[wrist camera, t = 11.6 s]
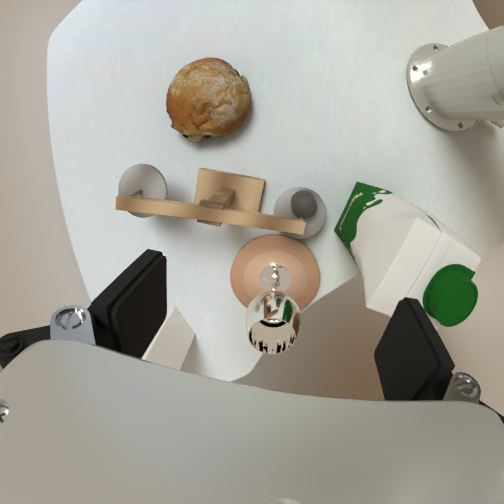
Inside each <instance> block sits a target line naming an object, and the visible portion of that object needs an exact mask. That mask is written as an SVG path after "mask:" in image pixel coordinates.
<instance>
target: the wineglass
mask: <svg viewBox="0 0 504 504" xmlns="http://www.w3.org/2000/svg"><path fill="white" fill-rule="evenodd" d="M291 283H292V275H291V273H290V271H289V270H288V269H287V268H286V267H284V266H282V265H277V264H273V265H269V266H267V267H265V268H264V269H263V270H262V271H261V272H260V274H259V284H260V286H261V288H262V289H263V290H264V291H262V292H260V293H259V294H257V295H256V296H255V297H254V298H253V299H252V300H251V302H250V304H249V306H248V308H247V312H246V330H247V335H248V339H249V342H250V343H251V345H252V346H253V347H254V348H255V349H257V350H258V351H260V352H263V353H266V354H278V353H282V352H284V351H286V350H288V349H289V348H290V347H291V346H292V345H293V344H294V342H295V340H296V337H297V334H298V330H299V325H300V311H299V307H298V305H297V303H296V301H295V299H294V298H293V297H292V296H291V295H290V294H288V293H287V292H285V291H286V290H288V289H289V287H290V286H291Z"/></svg>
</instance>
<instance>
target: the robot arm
mask: <svg viewBox="0 0 504 504" xmlns="http://www.w3.org/2000/svg"><path fill="white" fill-rule="evenodd" d="M413 70H414V71H413ZM407 80H408V86H409V89H410V92H411V95H412V97H413V99H414V101H415V104H416V105H417V107H418V108H419V110H420V111H421V112H422V113H423V115H424V116H425V117H426V118H427V119H428V120H429V121H431V122H432V123H433V124H434V125H436V126H438V127H439V128H442V129H444V130H447V131H464V130H467V129H468V128H470V127H472V126H473V125H474V124H475V123H476V121H477V120H490V121H491V122H492V123H493V124H495V125H496V126H498V127H499V128H503V127H504V25H502V26H499V27H496V28H494V29H492V30H489V31H486V32H483V33H481V34H478V35H476V36H473V37H471V38H468V39H466V40H464V41H461V42H459V43H456V44H454V45H452V46H450V47H448V46H446V45H442V44H438V43H430V44H426V45H424V46H422V47H420V48H418V49H417V50H416V51H415V52H414V53H413V54H412V55H411V57H410V60H409V62H408V67H407ZM426 109H427V111H426ZM166 262H167V261H166V257H165V256H163V254H162V252H160V251H155V250H150V249H147V250H146V251H145V252H144V253H143V254H142V255H141V256H139V257H138V258H137V259H136V260H135V261H134V262H133V263H132V264H131V265H130V266H129V267H128V268H127V269H125V270H124V271H123V272H122V273H121V274H120V275H119V276H118V277H117V278H116V279H115V280H114V281H113V282H112V283H111V284H110V285H109V286H108V287H107V288H106V289H105V290H104V291H103V292H102V293H101V294H100V295H99V296H98V297H97V298H96V299H95V300H94V301H93V302H92V303H91V305H90V306H89V308H88V309H86V308H84V307H81V306H77V305H69V306H65V307H62V308H60V309H58V310H57V311H56V312H55V313H54V314H53V315H52V317H51V322H50V323H51V324H50V325H49V326H44V327H39V328H34V329H29V330H24V331H18V332H13V333H9V334H6V335H4V336H3V337H1V338H0V504H504V417H503V416H502V415H500V414H499V413H498V412H496V411H495V410H493V409H492V408H490V407H489V406H487V405H486V404H484V403H483V402H481V401H480V400H479V399H480V394H481V390H480V386H479V384H478V382H477V381H476V380H475V379H474V378H473V377H471V376H470V375H469V374H466V373H463V372H457V373H455V374H454V375H453V374H452V372H451V371H452V370H453V369H454V367H455V365H454V363H453V361H452V359H451V357H450V355H449V353H448V351H447V349H446V347H445V346H444V344H443V342H442V340H441V338H440V336H439V334H438V333H437V331H436V329H435V327H434V325H433V324H432V322H431V320H430V319H429V317H428V315H427V313H426V312H425V310H424V308H423V307H422V305H421V303H420V302H419V300H418V299H415V298H408V297H404V298H403V299H402V300H400V301H399V302H398V304H397V306H396V308H395V310H394V312H393V315H392V317H391V319H390V321H389V323H388V325H387V327H386V330H385V332H384V334H383V336H382V338H381V340H380V342H379V344H378V346H377V348H376V350H375V353H374V357H375V362H376V366H377V369H378V373H379V377H380V381H381V385H382V390H383V394H384V398H385V400H362V399H347V398H335V397H324V396H314V395H306V394H297V393H290V392H283V391H276V390H270V389H264V388H258V387H252V386H247V385H242V384H237V383H232V382H227V381H223V380H218V379H214V378H209V377H205V376H201V375H197V374H193V373H189V372H185V371H181V370H177V369H174V368H170V367H167V366H163V365H160V364H156V363H153V362H150V361H146V360H143V359H142V357H143V355H144V354H145V352H146V350H147V349H148V347H149V345H150V344H151V342H152V341H153V339H154V337H155V336H156V334H157V332H158V331H159V329H160V328H161V326H162V324H163V323H164V321H165V319H166V316H167V284H166Z"/></svg>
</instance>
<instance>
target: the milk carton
mask: <svg viewBox="0 0 504 504" xmlns="http://www.w3.org/2000/svg"><path fill="white" fill-rule="evenodd" d="M334 230H335V232H336V233H337V235H338V236H339V237H340V239H341V240H342V242H343V243H344V245H345V246H346V248H347V249H348V250H349V252H350V254H351V255H352V257H353V259H354V261H355V263H356V265H357V267H358V269H359V271H360V273H361V275H362V276H363V283H364V292H365V301H366V307H367V308H369V309H372V310H375V311H377V312H380V313H383V314H386V315H388V316H389V317H390V318H391V317H392V315H393V312H394V310H395V308H396V306H397V304H398V302H399V301H400V300H402V299H403V298H404V297H408V298H415V299H418V300H419V302H420V303H421V305H422V307H423V308H424V310H425V312H426V313H427V315H428V317H429V319H430V320H431V322H432V324H433V325H434V327H435V329H436V330H437V329H438V327H439V326H440V324H441V325H444V326H447V327H451V326H455V325H457V324H459V323H461V322H462V321H464V320H465V319H466V318H467V317H468V316H469V315H470V314H471V312H472V311H473V309H474V307H475V305H476V302H477V298H478V290H477V287H476V285H475V284H474V283H473V282H472V281H471V279H472V278H473V276H474V274H475V270H476V268H477V267H478V265H479V263H480V261H481V257H480V256H479V255H478V254H476V253H475V252H474V250H473V249H472V248H471V247H470V246H469V245H468V244H467V243H466V242H465V241H464V240H463V239H462V238H461V237H459V236H458V235H457V234H456V233H455V232H453V231H452V230H451V229H450V228H449V227H447V226H446V225H445V224H444V223H442V222H441V221H439V220H438V219H437V218H435V217H434V216H432V215H431V214H429V213H427V212H425V211H424V210H422V209H420V208H419V207H417V206H415V205H414V204H412V203H410V202H409V201H407V200H405V199H403V198H402V197H400V196H398V195H396V194H394V193H392V192H390V191H387V190H384V189H381V188H377V187H374V186H370V185H367V184H363V183H359V182H357V183H356V185H355V187H354V189H353V192H352V194H351V196H350V198H349V200H348V202H347V204H346V207H345V209H344V211H343V213H342V215H341V217H340V219H339V221H338V223H337V225H336V227H335V229H334Z"/></svg>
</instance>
